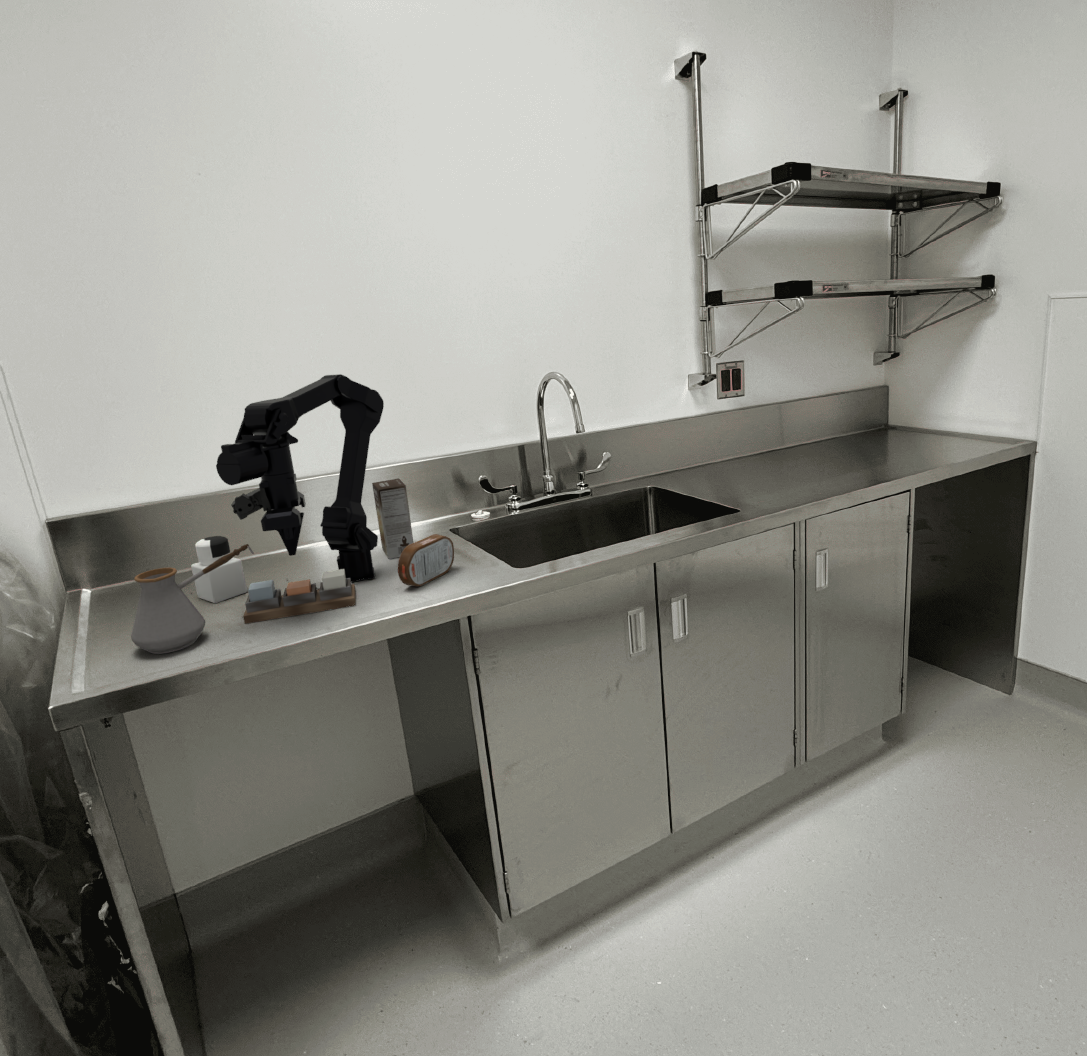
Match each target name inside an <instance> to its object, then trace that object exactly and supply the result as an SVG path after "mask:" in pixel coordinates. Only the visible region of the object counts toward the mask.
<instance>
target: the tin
mask: <svg viewBox="0 0 1087 1056" xmlns="http://www.w3.org/2000/svg"><path fill="white" fill-rule="evenodd" d="M454 560H455V548H454V542H453V540H452V539H451V538H450V537H449V536H445V535H441V534H439V533H433V534H431V535H428V536H426V537H424V538H423V539H420V540H417V541H414V543H412V544H410V545H408V546H407V547H406V548H405V549H404V550H403V552H402V553H401V555H400V557H398V561H397V574H398V578H399V580H400V581H401V584H402V583H403V584H404V585H405V586H410V587H411V586H412V587H422V586H424V585H427V584H428V583H430V582H433V581H434V580H436V579H438V578H441V577H442V576H444V575H446V574H447V573H448V572H449V571H450V570H451V568H452V566H453V564H454Z"/></svg>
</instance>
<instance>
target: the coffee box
mask: <svg viewBox="0 0 1087 1056" xmlns="http://www.w3.org/2000/svg"><path fill="white" fill-rule="evenodd" d="M371 484H372V491H373V496H374V497H373V498H374V503H375V505H374V506H375V510H376V516H377V523H378V524H377V525H378V530H379V537H380V543H381V544H380V545H381V548H382V551H383V552H384V554H385V555H386V557H387V559H389V560H391V559H397V558H400V555H401V553H402V552H403V550H404V549H405V548H406V547H407V546H408V545H410V544H412V543H415V541H414V537H413V528H412V523H411V513H410V507H409V506H410V505H409V499H408V491H407V485H406V484H405V483H404V481H402V480H401V479H400V478H393V479H388V480H380V481H375V482H372V483H371Z"/></svg>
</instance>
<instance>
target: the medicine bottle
mask: <svg viewBox="0 0 1087 1056" xmlns="http://www.w3.org/2000/svg"><path fill="white" fill-rule="evenodd" d="M194 546H195V551H196V555H197V561H198V562H195V563H192V564H191V566H190V568H191V572H192V576H193V575H195V574H197V573H199V572H200V571H202V570H203V569H204V568H206V567H207V566H209V565H210V564H212V563H213V562H215V561H216V560H218V559H219V558H221V557H222V556H225V555H227V554H229V553H232V552H231V548H230V543H229V539H228V538H227V537H226V536H222V535H214V536H212V535H211V536H207V537H204V538H202V539H199V540H198V541H197V542H195V544H194ZM193 582H194V585H195V591H196V594H197V598H200V599H202V600H204V601H207V602H211V603H214V604H217V603H221V602H222V601H226V600H229V599H232V598H234V597H238V596H240V595H243V594H245V593H247V592H248V587H247V582H246V577H245V573H244V568H243V563H242V559H240V558H236V557H233V558H232V559H230V560H229V561H228V562H227V563H225V564H223V565H221V566H219V567H218V568H216V569H214V570H212V571H210V572H208V573H206V574H204V575H202V576H201V577H199V578H198V579H196V580H194V581H193Z"/></svg>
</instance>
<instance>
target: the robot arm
mask: <svg viewBox="0 0 1087 1056" xmlns="http://www.w3.org/2000/svg"><path fill="white" fill-rule="evenodd" d="M329 402H331V404H332V405H333V406H334V407H336V408H338V409H339V418H340V421H341V423H342V425H343V427H344V430H345V431H344V441H343V448H342V455H341V461H340V469H339V475H338V481H337V483H338V484H337V489H336V496H335V500H334V502H333V503H332V504H331V505H330V506H329V505H328V506H326V505H325V506H324V507H323V510H322V520H321V523H320V527H321V528H322V529H321V534H322V537H323V538H324V540H325V541H326V542H327V544H328V547H329V548H330V550H331V551H338V556H337V557H336V563H337V570H340V569H344V570H345V576H346V578H350V579H351V583H353V582H358V581H365V580H371V579H376V575H375V566H374V563H373V557H372V551H373V550H374V548H376V547H378V543H379V541H378V537H379V536H378V535H377V534H376V533H375V532H373V531H372V530H371V529H370V528H369V527H367V522H368V520H367V519H368V517H367V514H366V512H365V508H363V505H362V498H363V490H364V483H365V475H366V469H367V468H366V467H367V462H368V456H369V455H368V454H369V448H370V447H369V446H370V441H371V434H372V433H373V432H374V430H375V429H376V428H377V426H378V425H379V424H380V421H381V419H382V415H383V411H384V407H385V406H384V405H385V404H384V399H383V397H382V396H381V394H380V393H379V392H378V391H377V390H375V389H373V388H370V387H368V386H367V385H364V384H361V383H359V382H356V381H354V380H352V379H351V378H349V377H348V376H346V375H344V374H341V373H340V374H326V375H323V376H322V377H320V378H319V379H318V380H316V381H314V382H310V384H307V385H305V386H302V387H301V388H299V389H297V390H294V391H293V392H290V393H289V394H286V395H284V396H283V397H278V398H271V399H266V400H259V401H256V402H251V403H249V404H248V405H247V406H245V408H244V414H243V418H242V420H241V424H240V426H239V429H238V432H237V435H236V438H235V440H234V443H225V444H222V445H220V449H221V453H219V455H218V457H217V460H216V465H215V466H216V468H215V469H216V471H217V474H218V475H219V478H220V479H221V481H222V482H224V483H225V484H226V485H229V486H235V485H239V484H241V483H243V484H244V483H246V482H250V481H252V480H257V479H261V480H260V483H258V487H259V488H256V489H254V490H252V491H250V492H248V493H246V494H245V493H242V494H241V495H238V496H236V497H235V498H234V500H233V501H232V503H231V504H230V506H231V507H232V510H233V511H232V512H233V513H234V514H235V515H237V517H238V518H239V520H241V521H242V520H245V519H246V518H248V517H249V515H252V514H254V513H256V512H257V511H260V510H263V512H265V513H264V515H262V517H261V519H260V523H261V528H262V532H271V531H276V532H278V534H279V536H280V538H281V540H282V543H283V545H284V547H285V550H286V551H287V553H288V555H289V556H291V557H292V556H296V555H297V550H298V544H299V540H300V535H301V531H302V525H303V521H304V515H305V512H301V511H300V510H298V508H296V507H299V506H301V508H305V507H306V498H305V495H304V494H303V493H302V492H301V491H299V490H298V486H297V478H298V477H297V474H296V473H295V469H294V468H295V467H294V464H293V459H292V453H291V448H290V445H294V444H298V442H299V439H298V438H297V437H296V436H293V435H292V434H290V432H289V431H290V430H291V429H293V428H294V427H295V426H296V425H297V423H298V421H299V418H301V417H302V416H304V415H306V414H308V413H309V412H311V411H313V410H315V409H317V408H319V407H321V406H323V405H324V404H327V403H329Z"/></svg>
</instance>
